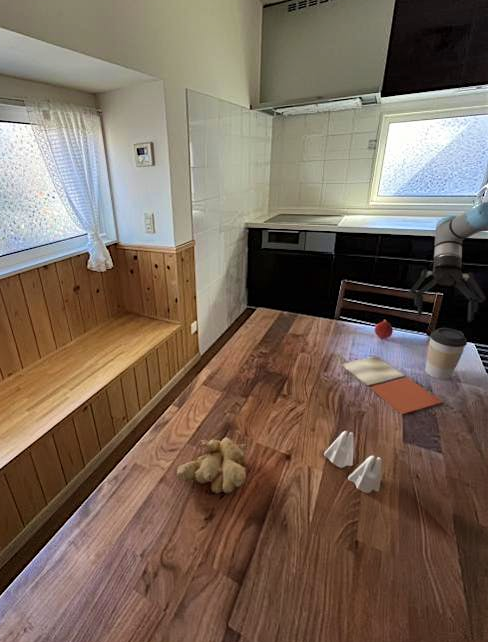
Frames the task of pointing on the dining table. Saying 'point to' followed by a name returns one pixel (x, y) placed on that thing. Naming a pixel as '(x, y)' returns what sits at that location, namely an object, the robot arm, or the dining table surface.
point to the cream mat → (372, 370)
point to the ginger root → (217, 466)
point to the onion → (383, 330)
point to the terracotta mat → (406, 395)
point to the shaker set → (342, 456)
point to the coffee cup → (444, 352)
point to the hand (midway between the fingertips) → (444, 317)
